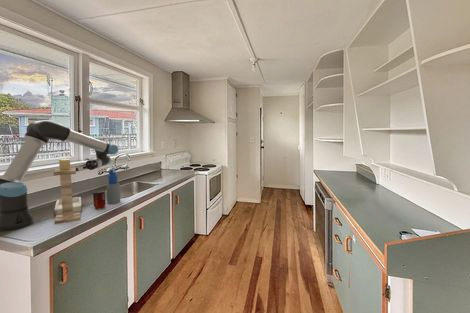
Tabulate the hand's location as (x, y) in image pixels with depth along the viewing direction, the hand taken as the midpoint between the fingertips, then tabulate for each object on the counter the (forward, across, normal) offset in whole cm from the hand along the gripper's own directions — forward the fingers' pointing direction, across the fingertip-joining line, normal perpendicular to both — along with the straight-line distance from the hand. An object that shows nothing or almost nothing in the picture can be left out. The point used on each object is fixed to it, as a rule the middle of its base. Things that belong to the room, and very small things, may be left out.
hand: (70, 171), depth 151 cm
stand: (+19, -5, -26) cm, 32 cm away
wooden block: (+10, -8, +3) cm, 13 cm away
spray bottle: (-16, -8, -32) cm, 36 cm away
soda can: (-2, -8, -30) cm, 31 cm away
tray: (+2, +11, -24) cm, 26 cm away
